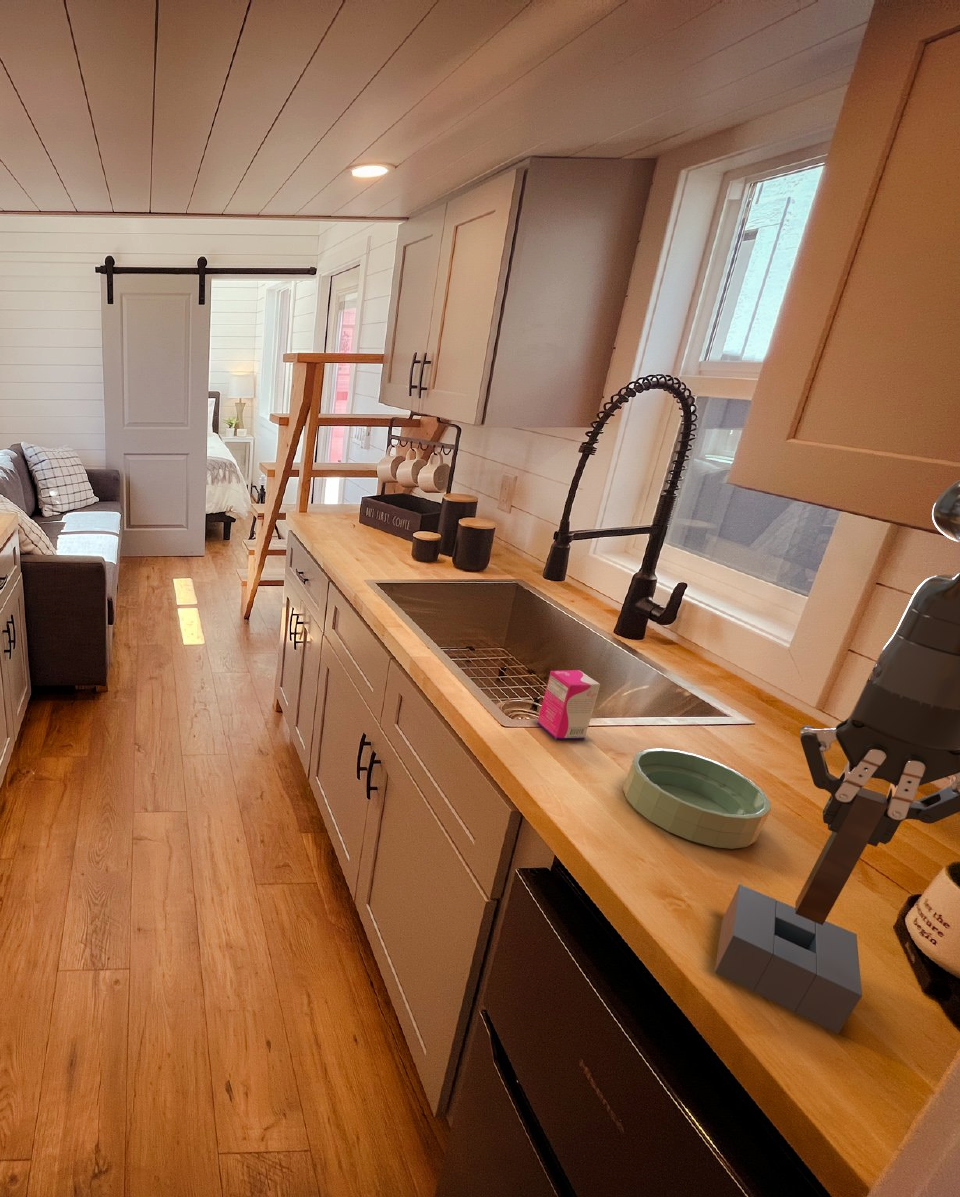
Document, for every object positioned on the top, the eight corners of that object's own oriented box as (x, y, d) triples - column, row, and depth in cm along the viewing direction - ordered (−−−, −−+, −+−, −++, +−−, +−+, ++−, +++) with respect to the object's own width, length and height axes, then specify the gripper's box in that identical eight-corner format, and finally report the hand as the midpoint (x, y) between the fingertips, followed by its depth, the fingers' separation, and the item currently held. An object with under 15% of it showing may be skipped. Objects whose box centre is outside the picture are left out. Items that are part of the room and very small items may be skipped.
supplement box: (564, 722, 122) (580, 669, 118) (585, 740, 117) (603, 685, 113) (535, 722, 122) (550, 669, 118) (554, 741, 116) (571, 685, 112)
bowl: (757, 812, 100) (772, 780, 98) (751, 870, 89) (768, 835, 86) (632, 765, 110) (643, 736, 108) (612, 812, 99) (624, 780, 97)
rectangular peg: (822, 913, 71) (886, 794, 65) (822, 925, 69) (888, 805, 63) (795, 902, 72) (855, 785, 66) (795, 913, 70) (856, 795, 64)
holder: (834, 971, 74) (856, 933, 72) (837, 1035, 67) (862, 995, 65) (721, 919, 81) (739, 883, 78) (714, 973, 74) (733, 935, 72)
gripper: (1036, 699, 58) (945, 849, 65) (825, 650, 67) (763, 787, 73) (1059, 733, 53) (957, 892, 59) (827, 675, 62) (760, 819, 68)
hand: (850, 833), depth 66 cm, fingers closed on rectangular peg, 2 cm apart
